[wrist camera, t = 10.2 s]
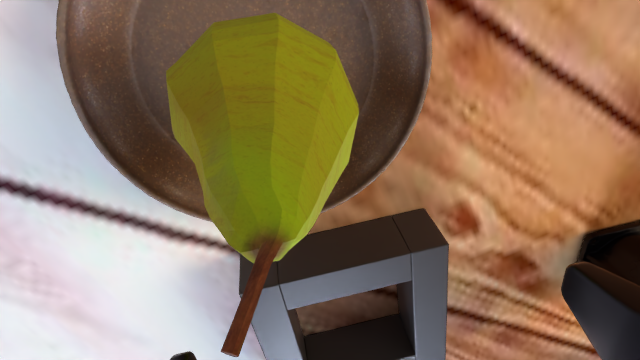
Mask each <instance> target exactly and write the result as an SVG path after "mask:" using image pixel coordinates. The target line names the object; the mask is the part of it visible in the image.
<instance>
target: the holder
mask: <svg viewBox="0 0 640 360" xmlns="http://www.w3.org/2000/svg"><path fill="white" fill-rule="evenodd" d="M448 250H449V244H448V243H447V241H446V240H445V238H444V237H443V235H442V234H441V232H440V231H439V229H438V228H437V226H436V225H435V223H434V222H433V220H432V219H431V217H430V216H429V214H428V213H427V211H426V210H425V209H419V210H415V211H411V212H406V213H402V214H398V215H393V216H392V217H391V216H388V217H384V218H379V219H375V220H371V221H367V222H362V223H358V224H354V225H349V226H345V227H341V228H336V229H332V230H328V231H323V232H319V233H315V234H310V235H306V236H305V237H304V238H303V239H301V240H300V241H299V242H298V243H297V244H296V245H295V246H293V247H292V248H291V249H290V250H289V251H288V252H287V253H286V254H285V255H284V256H283V257H282V259H281V260H279V261H274V262H272V264H271V266H270V269H269V272H268V275H267V278H266V280H265V283H264V286H263V289H262V292H261V295H260V298H259V301H258V303H257V306H256V309H255V312H254V314H253V317H252V320H251V324H252V326H253V329H254V331H255V334H256V336H257V339H258V341H259V343H260V346H261V348H262V351H263V353H264V355H265V358H266V360H445V357H446V321H447V286H448ZM253 265H254V263H252V262H251V261H249V260H248V259H247V258H245V257H244V256H243V255H242V254H240V281H239V295H240V297H241V298H242V295H243V293H244V290H245V287H246V284H247V282H248V279H249V276H250V273H251V270H252V268H253ZM395 284H397V295H398V308H399V314H396V315H392V316H388V317H384V318H380V319H375V320H371V321H367V322H363V323H359V324H355V325H351V326H347V327H343V328H339V329H334V330H330V331H326V332H322V333H318V334H314V335H310V336H306V337H304V336H303V333H302V329H301V326H300V323H299V319H298V316H297V313H296V310H295V308H299V307H303V306H307V305H311V304H316V303H320V302H324V301H328V300H332V299H336V298H340V297H345V296H349V295H353V294H357V293H361V292H365V291H370V290H374V289H378V288H382V287H386V286H390V285H395Z"/></svg>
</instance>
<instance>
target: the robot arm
mask: <svg viewBox="0 0 640 360" xmlns="http://www.w3.org/2000/svg"><path fill="white" fill-rule="evenodd" d="M561 291H562V295H563V297H564V299H565V301H566V303H567V304H568V306H569V308H570V309H571V311H572V312H573V314H574V316H575V317H576V319H577V321H578V322H579V324H580V325H581V327H582V329H583V330H584V332H585V334H586V335H587V337H588V339H589V340H590V342H591V343H592V345H593V347H594V348H595V350H596V351H597V353H598V354H599V356H600V358H601V359H602V360H640V222H636V223H632V224H627V225H623V226H619V227H615V228H611V229H607V230H602V231H598V232H594V233H591V234H588V235H587V236H586V237H585V238H584V241H583V244H582V248H581V251H580V255H579V258H578V262H577V263H575V264H571V265H569V266H568V267H567V268H566V271H565V275H564V279H563V283H562V287H561ZM170 360H197V359H196V357H195V356H194V354H193V353H192V352H190V351H189V352H184V353H180V354H176V355H174V356H173V357H172V358H171V359H170Z"/></svg>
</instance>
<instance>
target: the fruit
mask: <svg viewBox="0 0 640 360" xmlns="http://www.w3.org/2000/svg"><path fill="white" fill-rule="evenodd" d="M166 82H167V90H168V99H169V107H170V116H171V124H172V132H173V134H174V137H175V139H176V140H177V141H178V143H179V144H180V145H181V146H182V148H183V149H184V150H185V151H186V153H187V154H188V155H189V156H190V158H191V159H192V161H193V162H194V163H195V166H196V169H197V173H198V176H199V180H200V183H201V187H202V190H203V196H204V205H205V208H206V210H207V212H208V214H209V217H210V219H211V220H212V221H213V223H214V224H215V225H216V227H217V228H218V229H219V231H220V232H221V233H222V235H223V236H224V238H225V239H226V241H227V242H228V244H229V245H230V246H232V247H233V248H234V249H235V250H237V251H238V252H239V253H240V254H242V255H243V256H244V257H245V258H247V259H248V260H249V261H251V262H252V263H254V265H253V268H252V270H251V273H250V276H249V279H248V282H247V284H246V287H245V290H244V293H243V295H242V298H241V301H240V304H239V307H238V309H237V312H236V314H235V317H234V319H233V322H232V324H231V327H230V329H229V332H228V334H227V337H226V339H225V342H224V344H223V347H222V349H221V352H223V353H225V354H227V355H230V356H234V357H238V356H239V354H240V351H241V348H242V345H243V342H244V340H245V337H246V334H247V331H248V328H249V326H250V323H251V320H252V317H253V314H254V312H255V309H256V306H257V303H258V301H259V298H260V295H261V292H262V289H263V286H264V283H265V280H266V278H267V275H268V272H269V269H270V266H271V264H272V262H274V261H279V260H281V259H282V257H283V256H284V255H285V254H286V253H287V252H288V251H289V250H290V249H291V248H292V247H293V246H295V245H296V244H297V243H298V242H299V241H300V240H301V239H303V238H304V237H305V236H306V235H307V234H308V232H309V231H310V230H311V228H312V227H313V225H314V223H315V222H316V220H317V218H318V216H319V214H320V212H321V210H322V208H323V206H324V204H325V202H326V200H327V199H328V197H329V195H330V193H331V192H332V190H333V188H334V186H335V184H336V183H337V181H338V179H339V177H340V176H341V174H342V172H343V171H344V169H345V167H346V166H347V164H348V162H349V158H350V153H351V148H352V143H353V139H354V134H355V129H356V124H357V119H358V115H359V108H358V103H357V100H356V98H355V95H354V93H353V91H352V88H351V86H350V83H349V81H348V78H347V76H346V74H345V71H344V69H343V66H342V64H341V61H340V59H339V57H338V54H337V52H336V50H335V49H334V48H333V46H332V45H331V44H330V43H329V42H327V41H325V40H323V39H322V38H320V37H318V36H316V35H314V34H313V33H311V32H309V31H307V30H305V29H304V28H302V27H300V26H298V25H296V24H295V23H293V22H291V21H289V20H287V19H286V18H284V17H282V16H280V15H279V14H277V13H270V14H264V15H258V16H251V17H245V18H239V19H232V20H226V21H220V22H214V23H213V24H212V25H211V26H210V27H209V28H208V29H207V30H206V31H205V32H204V33H203V34H202V35H201V36H200V38H199V39H198V40H197V41H196V42H195V43H194V44H193V45H192V46H191V47H190V48H189V49H188V50H187V51H186V52H185V53H184V54H183V55H182V56H181V58H180V59H179V60H178V61H177V62H176V63H175V64H173V65H172V66H171V67H170V68H169V69H168V70H167V71H166Z"/></svg>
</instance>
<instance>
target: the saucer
mask: <svg viewBox="0 0 640 360" xmlns="http://www.w3.org/2000/svg"><path fill="white" fill-rule="evenodd" d="M270 13H277V14H279V15H280V16H282V17H284V18H286V19H287V20H289V21H291V22H293V23H295V24H296V25H298V26H300V27H302V28H304V29H305V30H307V31H309V32H311V33H313V34H314V35H316V36H318V37H320V38H322V39H323V40H325V41H327V42H329V43H330V44H331V45H332V46H333V48H334V49H335V50H336V52H337V54H338V57H339V59H340V61H341V64H342V66H343V69H344V71H345V74H346V76H347V78H348V81H349V83H350V86H351V88H352V91H353V93H354V95H355V98H356V100H357V103H358V108H359V115H358V119H357V124H356V129H355V134H354V139H353V143H352V148H351V153H350V158H349V162H348V164H347V166H346V167H345V169H344V171H343V172H342V174H341V176H340V177H339V179H338V181H337V183H336V184H335V186H334V188H333V190H332V192H331V193H330V195H329V197H328V199H327V200H326V202H325V204H324V206H323V208H322V210H321V212H320V213H323V212H325V211H327V210H329V209H332V208H334V207H336V206H338V205H340V204H342V203H344V202H345V201H347V200H349V199H350V198H352V197H353V196H355V195H356V194H358V193H359V192H361V191H362V190H363V189H364V188H366V187H367V186H368V185H369V184H371V183H372V182H373V181H374V180H375V179H376V178H377V177H379V176H380V174H381V173H382V172H383V171H385V169H386V168H387V167H388V166H389V165H390V164H391V163H392V161H393V160H394V159H395V157H396V156H397V155H398V153H399V152H400V151H401V149H402V147H403V146H404V144H405V143H406V141H407V139H408V137H409V135H410V133H411V132H412V130H413V128H414V126H415V124H416V122H417V119H418V117H419V114H420V112H421V109H422V106H423V103H424V100H425V97H426V92H427V88H428V84H429V79H430V72H431V64H432V34H431V24H430V16H429V11H428V6H427V2H426V0H59V4H58V10H57V22H56V23H57V30H56V39H57V47H58V55H59V60H60V67H61V70H62V74H63V78H64V82H65V85H66V88H67V91H68V93H69V96H70V99H71V102H72V104H73V106H74V108H75V110H76V112H77V115H78V117H79V119H80V121H81V122H82V124H83V126H84V128H85V130H86V132H87V133H88V135H89V136H90V138H91V139H92V140H93V142H94V143H95V145H96V146H97V148H98V149H99V150H100V152H101V153H102V154H103V155H104V156H105V158H106V159H107V160H108V161H109V162H110V163H111V164H112V165H113V166H114V167H115V168H116V169H117V170H118V171H119V172H120V173H121V174H122V175H123V176H125V177H126V178H127V179H128V180H129V181H130V182H132V183H133V184H134V185H135V186H136V187H138V188H139V189H141V190H142V191H143V192H145V193H146V194H148V195H149V196H151V197H153V198H154V199H156V200H158V201H159V202H161V203H163V204H165V205H167V206H169V207H171V208H173V209H175V210H177V211H180V212H183V213H185V214H188V215H191V216H193V217H197V218H200V219H203V220H207V221H211V222H213V221H212V220H211V219H210V217H209V214H208V212H207V210H206V208H205V205H204V196H203V190H202V187H201V183H200V180H199V176H198V173H197V169H196V166H195V163H194V162H193V161H192V159H191V158H190V156H189V155H188V154H187V153H186V151H185V150H184V149H183V148H182V146H181V145H180V144H179V143H178V141H177V140H176V139H175V137H174V134H173V132H172V124H171V116H170V107H169V99H168V90H167V82H166V71H167V70H168V69H169V68H170V67H171V66H172V65H173V64H175V63H176V62H177V61H178V60H179V59H180V58H181V56H182V55H183V54H184V53H185V52H186V51H187V50H188V49H189V48H190V47H191V46H192V45H193V44H194V43H195V42H196V41H197V40H198V39H199V38H200V36H201V35H202V34H203V33H204V32H205V31H206V30H207V29H208V28H209V27H210V26H211V25H212V24H213V23H214V22H220V21H226V20H232V19H239V18H245V17H251V16H258V15H264V14H270Z"/></svg>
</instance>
